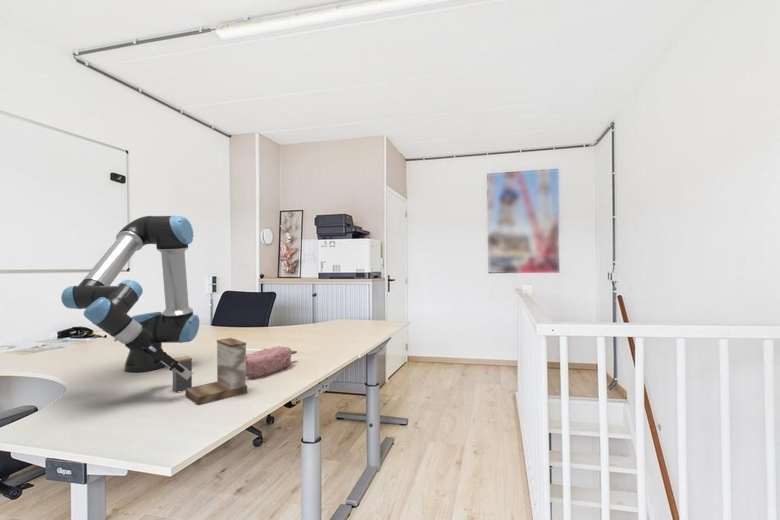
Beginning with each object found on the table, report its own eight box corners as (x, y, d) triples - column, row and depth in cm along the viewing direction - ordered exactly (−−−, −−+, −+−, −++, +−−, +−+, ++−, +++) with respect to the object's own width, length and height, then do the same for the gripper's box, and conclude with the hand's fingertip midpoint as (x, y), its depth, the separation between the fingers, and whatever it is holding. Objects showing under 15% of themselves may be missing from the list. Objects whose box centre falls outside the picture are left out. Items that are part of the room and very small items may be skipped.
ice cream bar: (306, 343, 172) (254, 359, 145) (306, 363, 172) (254, 382, 145) (284, 341, 177) (230, 355, 151) (284, 360, 177) (230, 377, 151)
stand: (198, 405, 121) (198, 350, 121) (185, 395, 130) (185, 344, 130) (247, 392, 133) (247, 342, 133) (232, 384, 141) (232, 337, 141)
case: (176, 392, 133) (176, 360, 133) (172, 389, 136) (172, 358, 136) (191, 389, 137) (191, 358, 137) (188, 386, 140) (188, 356, 140)
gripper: (116, 339, 133) (164, 374, 143) (132, 351, 115) (186, 389, 126) (134, 322, 137) (180, 357, 147) (152, 331, 119) (203, 370, 129)
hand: (183, 372), depth 136 cm, fingers open, 13 cm apart
